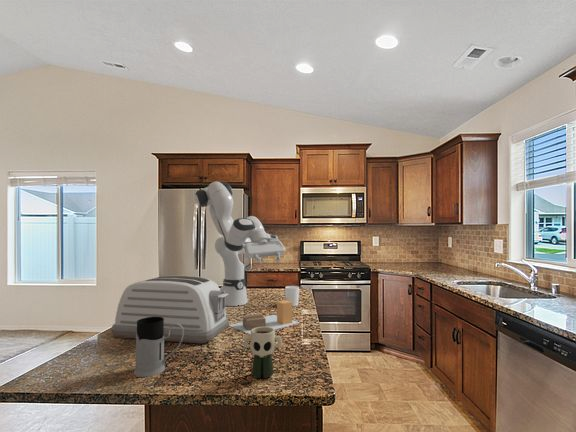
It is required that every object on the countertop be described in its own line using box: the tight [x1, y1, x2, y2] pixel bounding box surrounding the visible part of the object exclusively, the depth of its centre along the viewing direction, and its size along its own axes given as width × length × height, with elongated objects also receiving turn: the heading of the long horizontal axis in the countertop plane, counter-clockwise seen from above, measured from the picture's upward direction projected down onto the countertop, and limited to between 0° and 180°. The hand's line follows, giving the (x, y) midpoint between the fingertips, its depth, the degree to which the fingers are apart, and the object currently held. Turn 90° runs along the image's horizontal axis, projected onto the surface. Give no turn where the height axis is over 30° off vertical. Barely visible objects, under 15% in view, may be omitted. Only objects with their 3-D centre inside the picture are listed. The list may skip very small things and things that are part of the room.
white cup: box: [284, 285, 300, 307], centre depth 181 cm, size 8×8×10 cm
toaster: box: [111, 275, 229, 344], centre depth 133 cm, size 23×45×22 cm, turn 78°
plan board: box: [228, 314, 301, 336], centre depth 141 cm, size 18×26×1 cm
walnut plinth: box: [242, 313, 266, 330], centre depth 137 cm, size 8×8×4 cm
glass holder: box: [133, 317, 184, 378], centre depth 98 cm, size 9×14×15 cm, turn 94°
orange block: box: [276, 299, 293, 325], centre depth 144 cm, size 5×5×9 cm
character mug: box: [243, 327, 282, 379], centre depth 94 cm, size 11×7×13 cm, turn 91°
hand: (270, 261), depth 154 cm, fingers open, 8 cm apart
